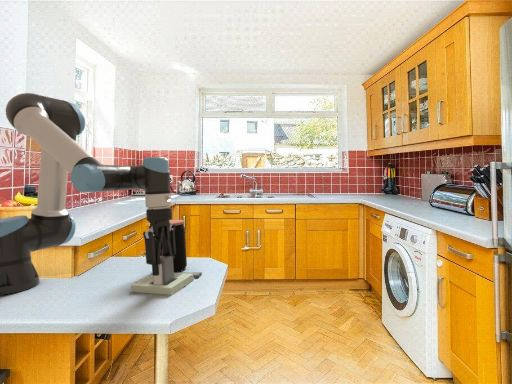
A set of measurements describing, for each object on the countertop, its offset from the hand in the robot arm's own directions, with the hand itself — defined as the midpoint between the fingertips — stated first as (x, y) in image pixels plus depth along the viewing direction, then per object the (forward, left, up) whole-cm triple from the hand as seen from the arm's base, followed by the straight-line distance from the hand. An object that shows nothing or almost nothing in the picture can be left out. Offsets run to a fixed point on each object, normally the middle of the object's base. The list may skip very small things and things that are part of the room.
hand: (163, 282), depth 92 cm
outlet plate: (-1, +1, -2) cm, 2 cm away
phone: (+3, +11, -2) cm, 12 cm away
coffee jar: (-8, +17, -2) cm, 19 cm away
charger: (0, 0, 0) cm, 0 cm away
